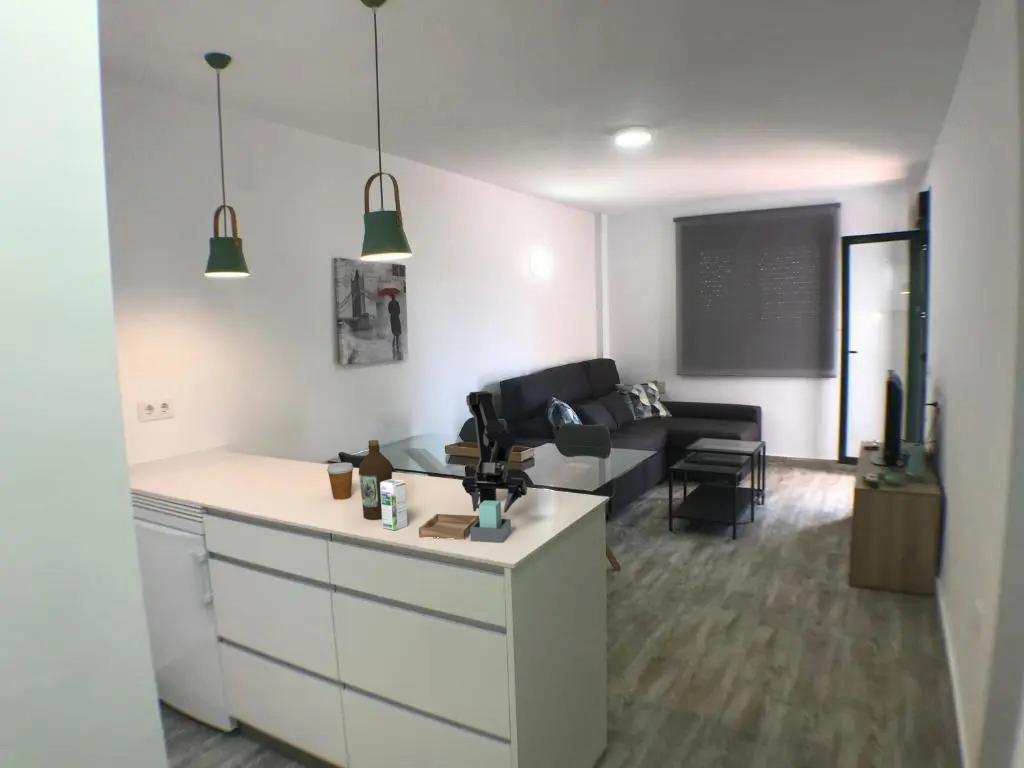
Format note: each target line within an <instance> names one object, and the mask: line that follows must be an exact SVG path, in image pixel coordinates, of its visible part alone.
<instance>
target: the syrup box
mask: <svg viewBox="0 0 1024 768" xmlns="http://www.w3.org/2000/svg"><path fill="white" fill-rule="evenodd" d="M406 489H407V487H406V480H402V479H401V480H400V479H394V478H392V479H390V480H385V481H383V482H381V483H380V490H381V507H382V519H381V522H382V525H381V526H382V529H387V530H391V531H398V530H400V529H402V528H406V527H407V526H408V508H407V490H406Z"/></svg>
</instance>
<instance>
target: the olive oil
mask: <svg viewBox="0 0 1024 768" xmlns="http://www.w3.org/2000/svg"><path fill="white" fill-rule="evenodd" d="M358 478H359V484H360V485H359V486H360V493H361V494H360V495H361V503H362V514H363V515H362V516H363V518H364V519H365V518H366V520H370V521H371V520H372V521H374V520H376V521H377V520H382V507H381V490H380V483H381V482H383V481H385V480H390V479H393V469H392V464H391V462H390V460H389V459H388V458H387V457H386V456H384V454H382V453H381V451H380V444H379V440H378V439H371V440H369V441H368V453H367V455H366V456H365V457H364V458H363V459H362V461H361V462H360V464H359V466H358Z"/></svg>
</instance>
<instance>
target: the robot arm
mask: <svg viewBox="0 0 1024 768" xmlns="http://www.w3.org/2000/svg"><path fill="white" fill-rule="evenodd" d="M468 393H469V394H467V395H466V397H465V399H466V400H465V401H466V406H467V407H468V411H469V413H470V414H471V415H472V417H473V418H474V424H475V433H476V439H477V440H476V441H477V449H478V458H479V461H478V464H477V465H476V468H475V471H476V472H475V473H474V476H465V477H463V479H462V481H461V485H462V486H463V487H462V488H464V490H465V493H466V494H468V495H470V496H471V502H472V509H473V512H476V511H477V510H478V509H479V505H480V504H481V503H482V502H483V501H484V500H486V501H498V499H497V490H507V495H506V500H505V502H504V507H503V513H504V514H506V513H507V512H508V510H509V509H510V508H511V507H512V506H513V505H514V504H515V502H516V501H517V500H518V499H520V498H522V496H526V495H527V494H528V485H527V484H526V481H525V479H524V478H522V477H511V478H510V480H509V481H508V482H506V480H507V477H508V475H509V473H508V470H509V463H510V459H511V456H512V453H513V450H514V447H515V445H516V438H515V437H514V435H513V434H512V433H509V431H507V429H506V427H505V425H504V424H503V423H502V422H500V420H499V418H498V415H497V411H496V408H495V405H494V395H493V394H494V393H492V392H490V391H488V390H482V391H470V392H468Z"/></svg>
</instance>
